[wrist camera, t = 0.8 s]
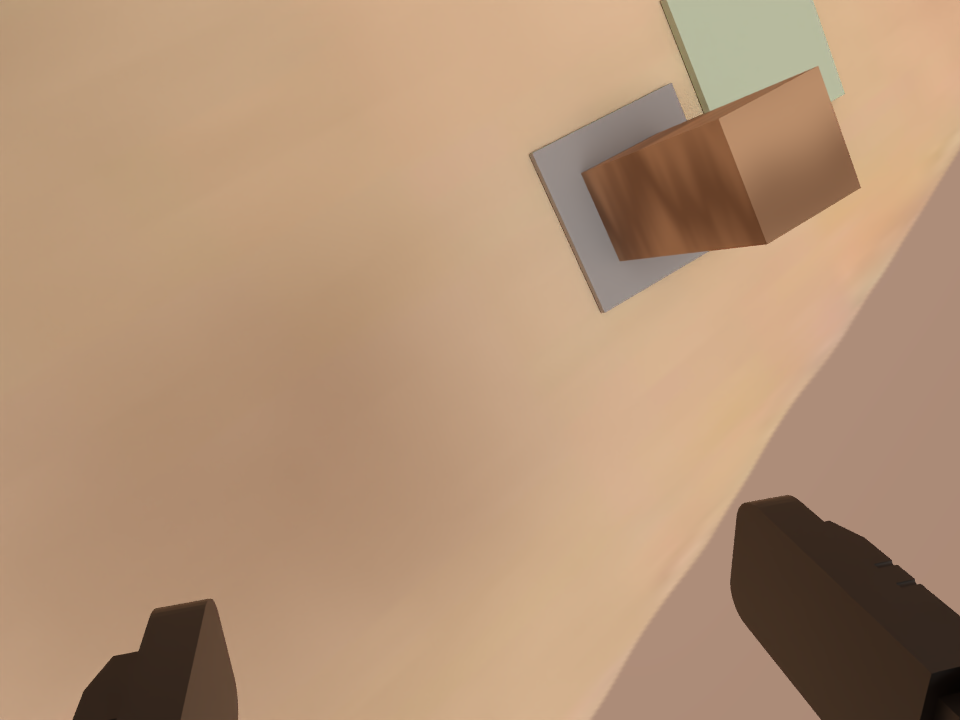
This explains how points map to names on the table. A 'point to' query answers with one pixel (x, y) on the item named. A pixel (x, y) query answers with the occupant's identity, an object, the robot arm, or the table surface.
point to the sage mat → (748, 46)
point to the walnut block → (727, 174)
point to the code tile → (578, 210)
